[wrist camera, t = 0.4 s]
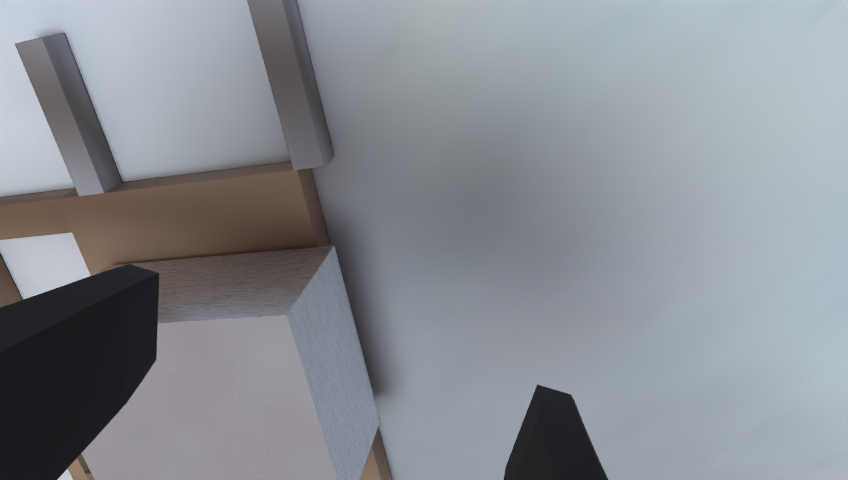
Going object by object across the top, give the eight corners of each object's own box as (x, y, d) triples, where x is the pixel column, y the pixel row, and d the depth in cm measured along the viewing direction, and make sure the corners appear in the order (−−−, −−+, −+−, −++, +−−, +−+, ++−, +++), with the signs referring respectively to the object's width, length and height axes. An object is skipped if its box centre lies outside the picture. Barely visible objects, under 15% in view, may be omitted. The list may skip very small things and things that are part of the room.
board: (432, 558, 28) (419, 624, 25) (131, 548, 31) (92, 606, 29) (293, -11, 19) (249, 0, 16) (-111, 67, 22) (-202, 86, 20)
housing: (379, 421, 23) (347, 512, 20) (173, 425, 25) (109, 509, 22) (334, 245, 21) (286, 315, 17) (106, 266, 23) (20, 331, 19)
